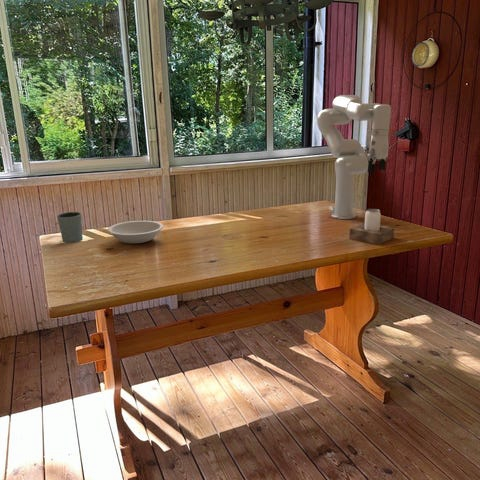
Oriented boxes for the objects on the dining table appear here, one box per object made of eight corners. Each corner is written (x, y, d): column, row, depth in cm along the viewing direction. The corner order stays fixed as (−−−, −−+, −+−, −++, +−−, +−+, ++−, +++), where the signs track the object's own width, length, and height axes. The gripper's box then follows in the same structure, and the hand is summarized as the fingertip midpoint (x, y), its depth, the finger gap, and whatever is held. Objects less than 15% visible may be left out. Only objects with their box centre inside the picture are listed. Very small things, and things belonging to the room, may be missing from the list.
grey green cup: (85, 236, 208) (82, 211, 205) (83, 242, 199) (79, 216, 195) (62, 238, 206) (59, 212, 203) (58, 244, 197) (55, 217, 193)
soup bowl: (142, 252, 184) (141, 237, 182) (97, 246, 194) (95, 231, 192) (174, 237, 205) (173, 223, 203) (132, 232, 215) (130, 218, 213)
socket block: (349, 238, 199) (349, 228, 197) (364, 231, 208) (365, 222, 207) (378, 244, 189) (379, 234, 188) (393, 237, 199) (394, 227, 198)
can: (377, 234, 202) (379, 208, 198) (380, 238, 196) (382, 211, 192) (362, 234, 202) (364, 208, 199) (365, 238, 196) (367, 211, 193)
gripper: (378, 135, 193) (374, 174, 199) (396, 132, 205) (392, 169, 210) (362, 133, 198) (359, 172, 204) (381, 131, 210) (378, 167, 215)
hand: (376, 171), depth 207 cm, fingers open, 9 cm apart
